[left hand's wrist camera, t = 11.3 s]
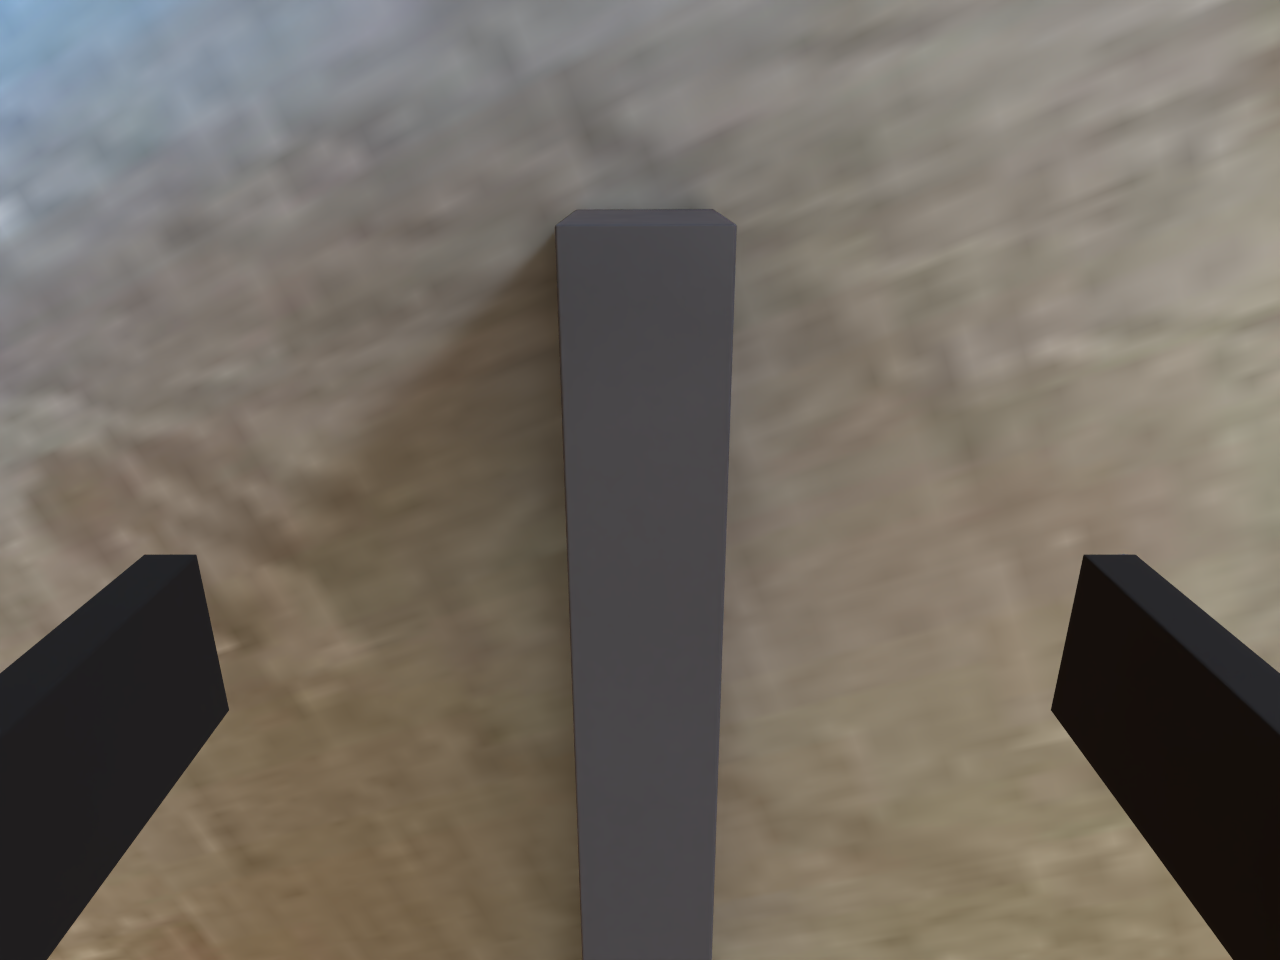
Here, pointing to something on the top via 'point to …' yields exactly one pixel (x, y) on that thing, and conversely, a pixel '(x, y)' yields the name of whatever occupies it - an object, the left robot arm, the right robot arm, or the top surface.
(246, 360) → the top surface
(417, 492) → the top surface
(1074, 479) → the top surface
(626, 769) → the bar
